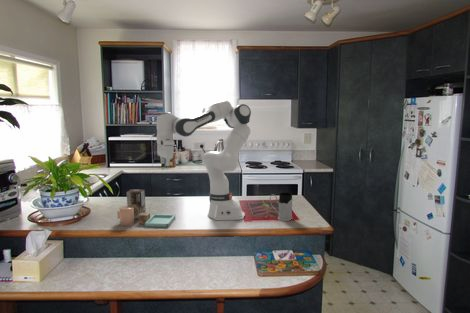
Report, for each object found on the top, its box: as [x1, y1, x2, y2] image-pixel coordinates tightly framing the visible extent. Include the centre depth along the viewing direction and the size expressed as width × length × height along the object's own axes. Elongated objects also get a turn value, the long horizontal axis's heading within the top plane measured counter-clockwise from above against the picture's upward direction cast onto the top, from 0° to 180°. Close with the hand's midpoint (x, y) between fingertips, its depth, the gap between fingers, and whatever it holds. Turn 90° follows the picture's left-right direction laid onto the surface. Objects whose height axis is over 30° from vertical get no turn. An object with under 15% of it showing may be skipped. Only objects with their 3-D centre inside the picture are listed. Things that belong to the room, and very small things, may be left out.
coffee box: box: [126, 188, 147, 219], centre depth 195 cm, size 9×6×16 cm
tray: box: [144, 213, 176, 228], centre depth 187 cm, size 13×16×2 cm
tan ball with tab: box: [116, 205, 135, 227], centre depth 184 cm, size 9×8×9 cm
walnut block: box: [138, 212, 151, 225], centre depth 187 cm, size 5×5×5 cm
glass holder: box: [269, 192, 293, 222], centre depth 195 cm, size 9×14×15 cm, turn 64°
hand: (165, 164), depth 188 cm, fingers open, 8 cm apart
